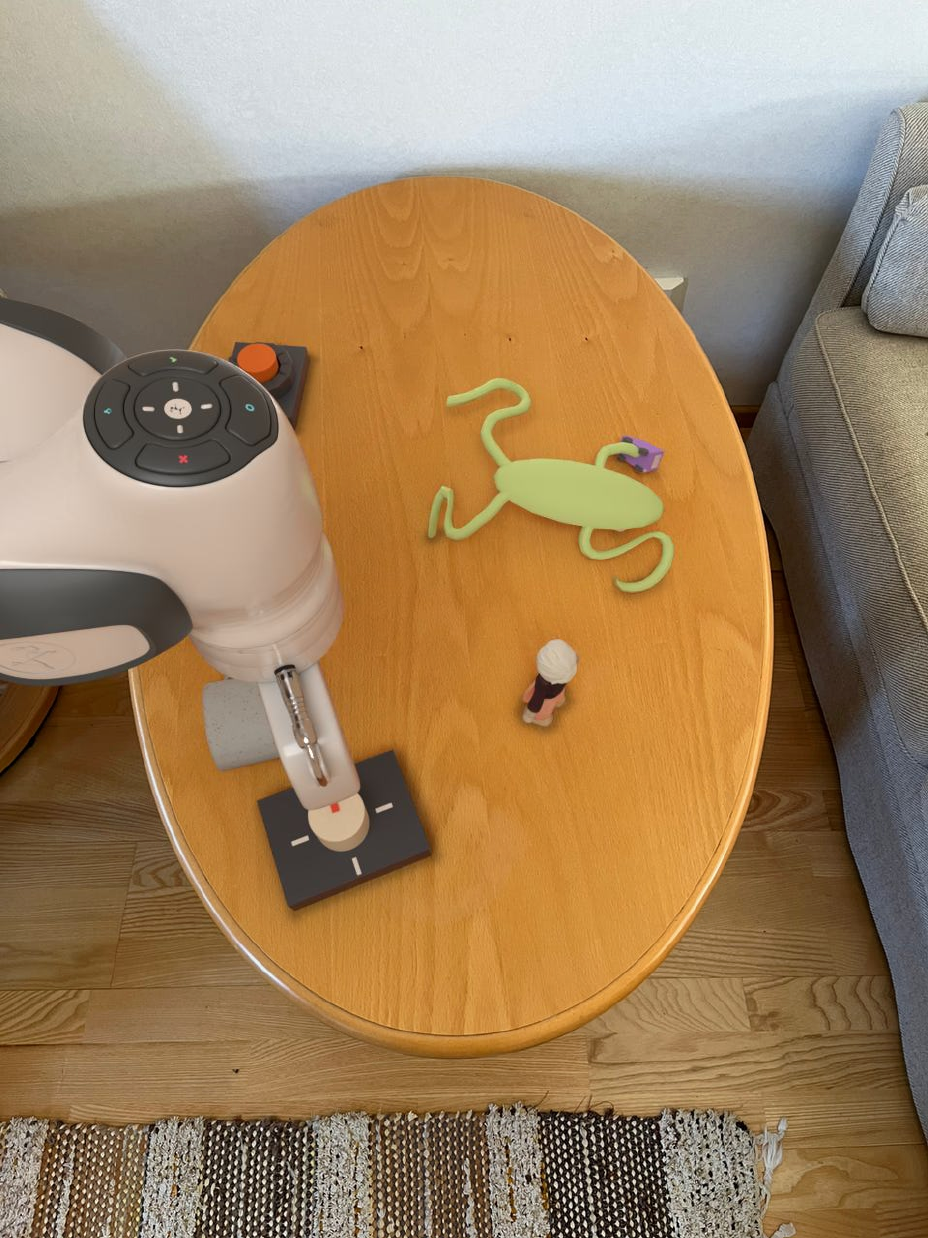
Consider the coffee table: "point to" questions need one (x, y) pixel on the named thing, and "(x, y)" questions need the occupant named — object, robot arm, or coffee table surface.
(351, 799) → the dial
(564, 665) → the grandmother figurine
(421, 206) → the coffee table surface
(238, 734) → the ceramic mug
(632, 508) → the figurine
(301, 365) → the button base
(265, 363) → the button
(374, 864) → the dial panel
